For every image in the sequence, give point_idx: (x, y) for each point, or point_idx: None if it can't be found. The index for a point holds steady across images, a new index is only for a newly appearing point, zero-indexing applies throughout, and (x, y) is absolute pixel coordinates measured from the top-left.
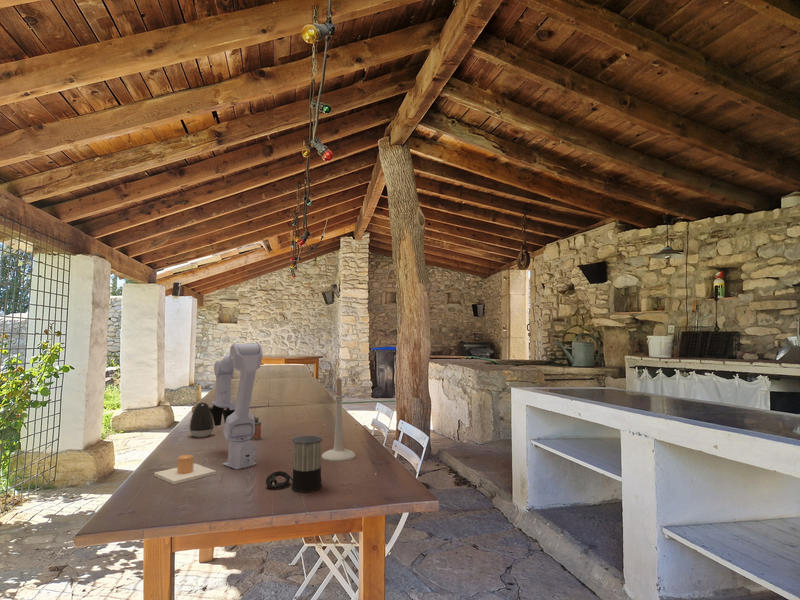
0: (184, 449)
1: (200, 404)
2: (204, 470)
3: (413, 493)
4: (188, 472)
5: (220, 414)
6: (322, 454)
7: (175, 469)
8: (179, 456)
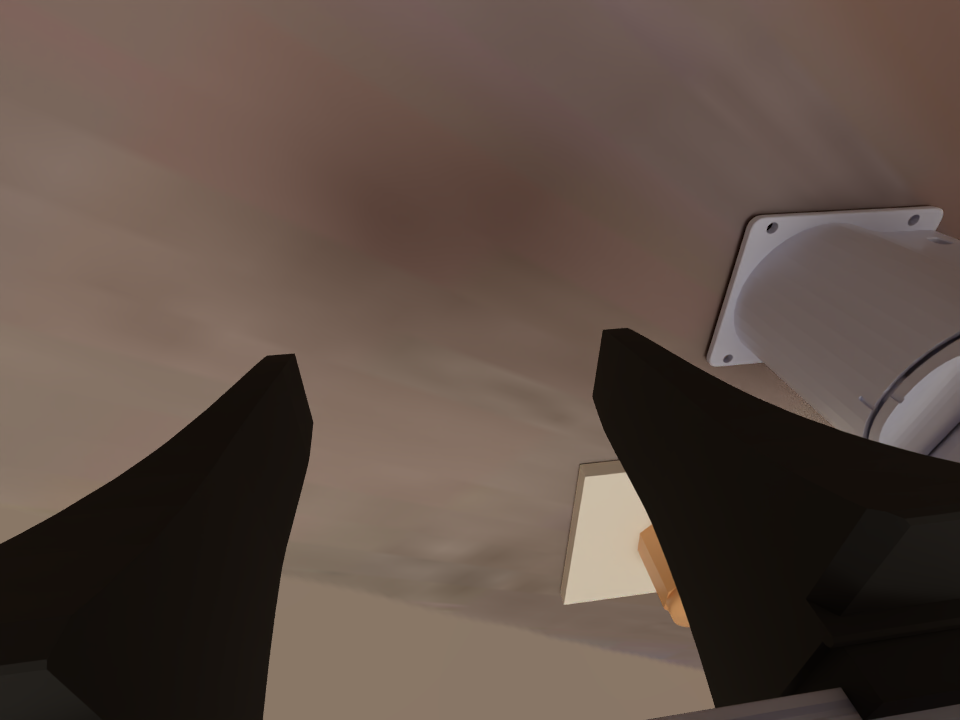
0: (36, 383)
1: None
2: None
3: None
4: None
5: (224, 504)
6: None
7: (597, 552)
8: (678, 621)
